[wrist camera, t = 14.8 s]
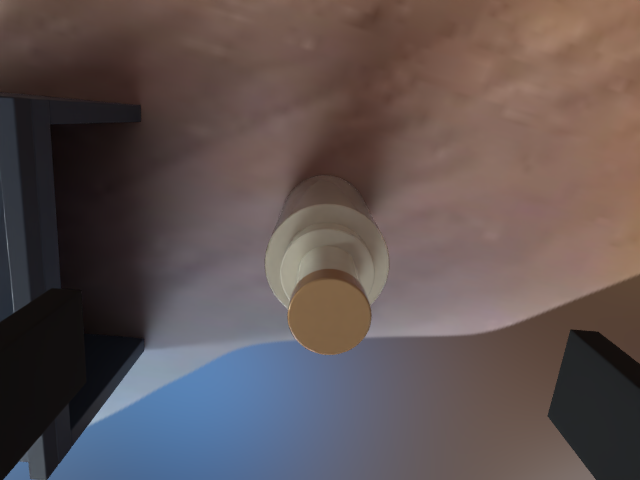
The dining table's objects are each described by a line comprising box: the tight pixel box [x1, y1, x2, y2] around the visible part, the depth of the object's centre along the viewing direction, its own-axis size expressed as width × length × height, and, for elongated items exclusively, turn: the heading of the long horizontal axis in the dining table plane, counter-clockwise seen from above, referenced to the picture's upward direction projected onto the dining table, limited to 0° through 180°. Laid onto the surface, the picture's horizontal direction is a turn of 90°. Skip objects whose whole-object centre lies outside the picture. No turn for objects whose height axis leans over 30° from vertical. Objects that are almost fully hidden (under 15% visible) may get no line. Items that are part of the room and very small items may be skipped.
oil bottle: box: [265, 175, 389, 355], centre depth 22 cm, size 6×6×15 cm
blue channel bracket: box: [0, 92, 144, 480], centre depth 24 cm, size 17×10×12 cm, turn 175°
